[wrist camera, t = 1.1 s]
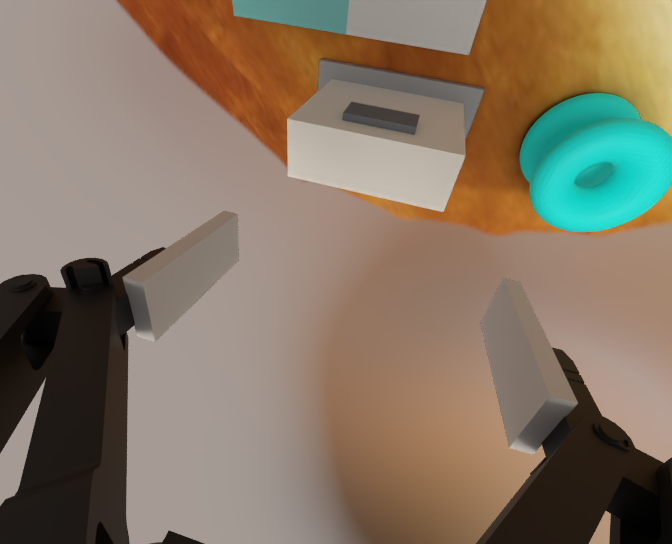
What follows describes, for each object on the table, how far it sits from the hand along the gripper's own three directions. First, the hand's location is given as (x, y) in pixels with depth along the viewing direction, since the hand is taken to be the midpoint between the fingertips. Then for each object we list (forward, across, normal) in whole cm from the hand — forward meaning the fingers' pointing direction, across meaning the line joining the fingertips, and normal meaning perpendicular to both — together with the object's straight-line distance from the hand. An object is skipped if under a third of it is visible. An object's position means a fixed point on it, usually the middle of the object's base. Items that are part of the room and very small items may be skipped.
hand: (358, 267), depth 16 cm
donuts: (+27, +17, +5) cm, 32 cm away
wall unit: (+27, -2, +5) cm, 27 cm away
